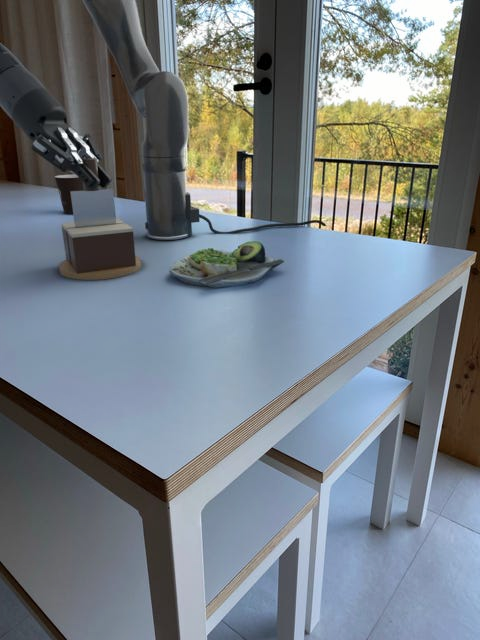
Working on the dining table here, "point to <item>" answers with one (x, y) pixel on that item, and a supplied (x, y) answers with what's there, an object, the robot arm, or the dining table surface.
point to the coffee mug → (68, 190)
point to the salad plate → (225, 266)
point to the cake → (98, 251)
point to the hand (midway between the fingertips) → (102, 184)
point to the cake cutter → (93, 203)
